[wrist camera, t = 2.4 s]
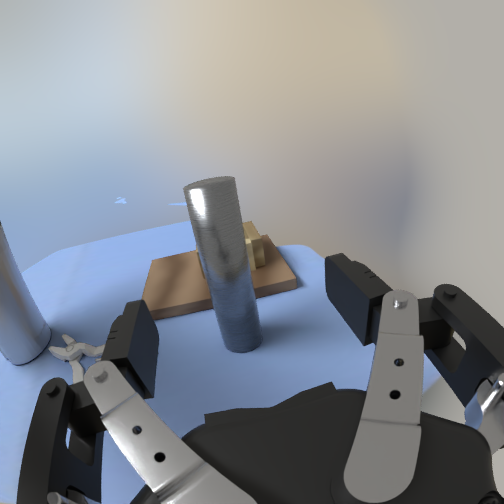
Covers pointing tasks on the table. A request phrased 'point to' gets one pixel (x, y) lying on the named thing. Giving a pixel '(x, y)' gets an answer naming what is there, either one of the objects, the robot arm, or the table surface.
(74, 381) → the pliers
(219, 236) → the steel pin
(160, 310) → the socket board
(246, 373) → the table surface
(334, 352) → the table surface
